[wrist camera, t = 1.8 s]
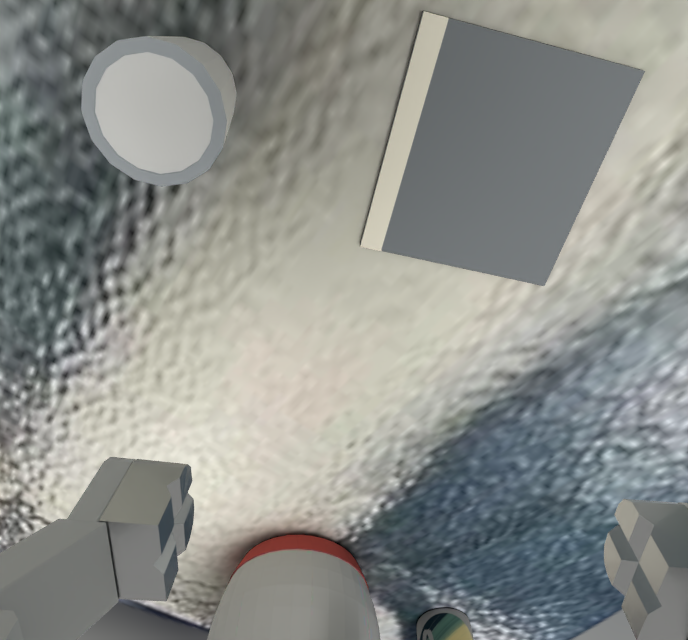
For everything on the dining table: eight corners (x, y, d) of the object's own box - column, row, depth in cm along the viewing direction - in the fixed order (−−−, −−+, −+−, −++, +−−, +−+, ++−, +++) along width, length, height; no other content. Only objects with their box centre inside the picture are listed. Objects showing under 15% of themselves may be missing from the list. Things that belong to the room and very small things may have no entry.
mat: (422, 10, 31) (424, 11, 31) (641, 70, 32) (645, 71, 32) (360, 243, 38) (360, 246, 38) (542, 283, 40) (544, 286, 39)
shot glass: (193, 173, 36) (163, 214, 30) (103, 84, 33) (49, 109, 27) (272, 96, 33) (256, 123, 27) (181, -6, 31) (141, -1, 25)
